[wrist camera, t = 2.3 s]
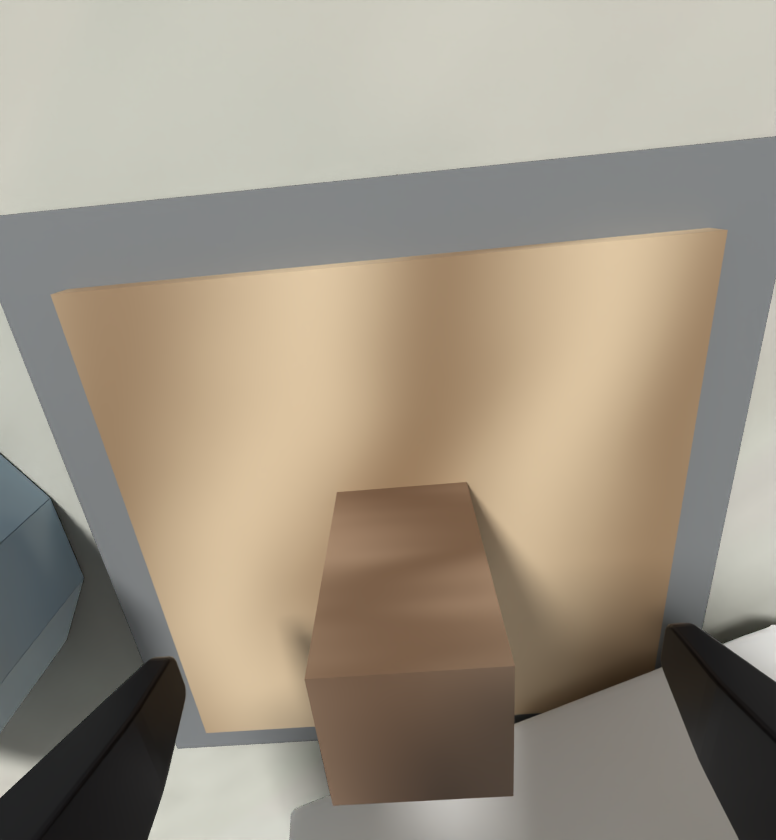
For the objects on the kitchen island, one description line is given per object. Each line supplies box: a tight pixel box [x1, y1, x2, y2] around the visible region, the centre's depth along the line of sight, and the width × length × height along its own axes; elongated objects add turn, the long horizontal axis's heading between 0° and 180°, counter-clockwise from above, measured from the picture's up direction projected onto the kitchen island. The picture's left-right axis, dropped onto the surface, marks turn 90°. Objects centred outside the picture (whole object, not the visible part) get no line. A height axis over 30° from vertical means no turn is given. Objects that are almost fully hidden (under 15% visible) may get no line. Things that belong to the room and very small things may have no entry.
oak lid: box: [51, 228, 728, 806], centre depth 10 cm, size 13×13×6 cm
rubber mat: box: [0, 136, 776, 749], centre depth 13 cm, size 16×16×1 cm
